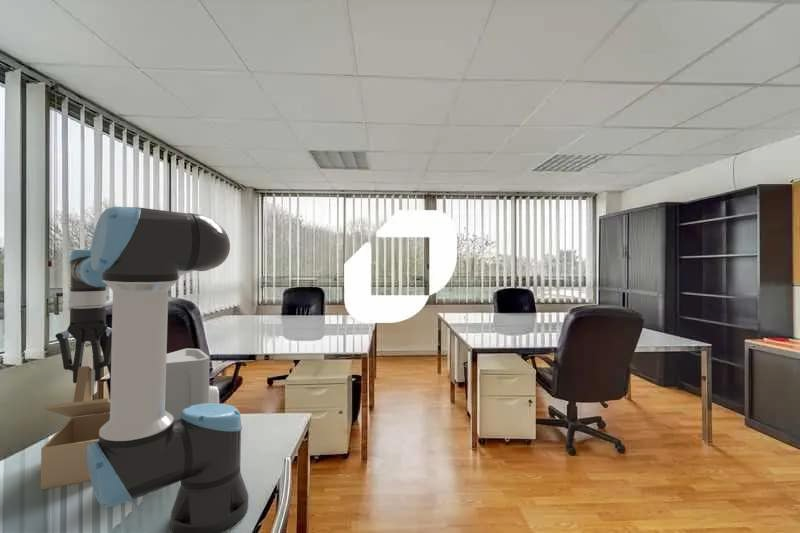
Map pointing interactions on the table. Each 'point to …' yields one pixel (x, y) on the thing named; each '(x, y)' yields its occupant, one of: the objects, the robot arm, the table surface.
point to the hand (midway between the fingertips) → (87, 393)
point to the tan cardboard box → (82, 399)
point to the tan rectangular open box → (70, 451)
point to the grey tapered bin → (186, 380)
